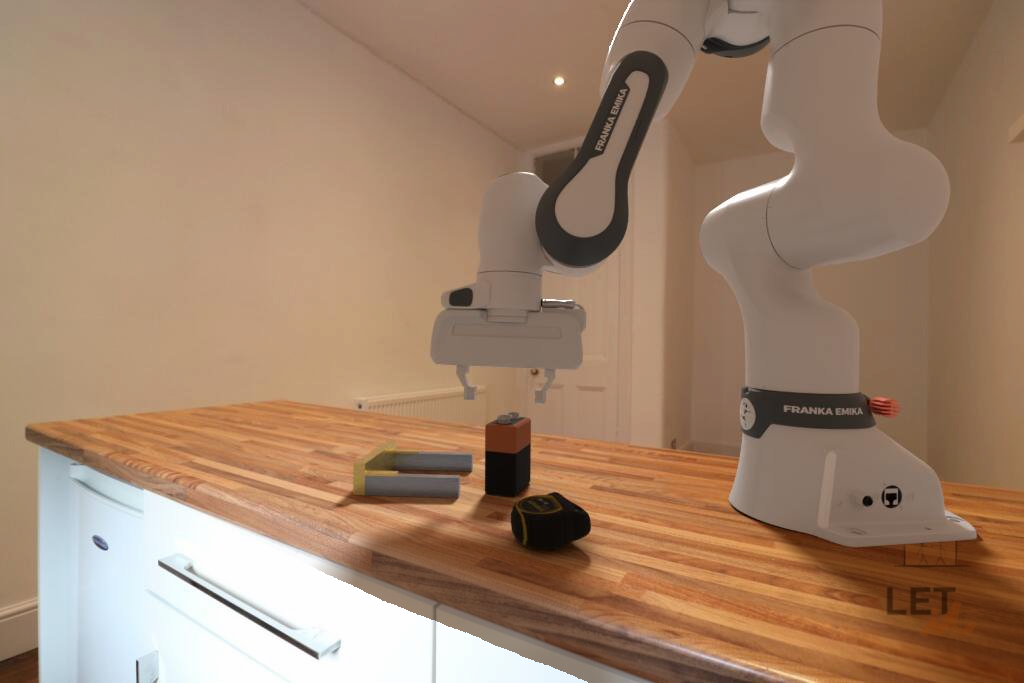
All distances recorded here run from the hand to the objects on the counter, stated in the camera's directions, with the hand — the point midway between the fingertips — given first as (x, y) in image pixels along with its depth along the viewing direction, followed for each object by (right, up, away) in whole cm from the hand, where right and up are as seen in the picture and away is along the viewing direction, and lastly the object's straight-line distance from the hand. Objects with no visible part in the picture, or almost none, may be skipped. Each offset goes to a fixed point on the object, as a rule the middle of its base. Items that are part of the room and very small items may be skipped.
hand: (504, 401), depth 60 cm
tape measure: (+8, -12, -17) cm, 22 cm away
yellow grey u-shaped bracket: (-11, -12, +3) cm, 16 cm away
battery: (0, -12, 0) cm, 12 cm away
